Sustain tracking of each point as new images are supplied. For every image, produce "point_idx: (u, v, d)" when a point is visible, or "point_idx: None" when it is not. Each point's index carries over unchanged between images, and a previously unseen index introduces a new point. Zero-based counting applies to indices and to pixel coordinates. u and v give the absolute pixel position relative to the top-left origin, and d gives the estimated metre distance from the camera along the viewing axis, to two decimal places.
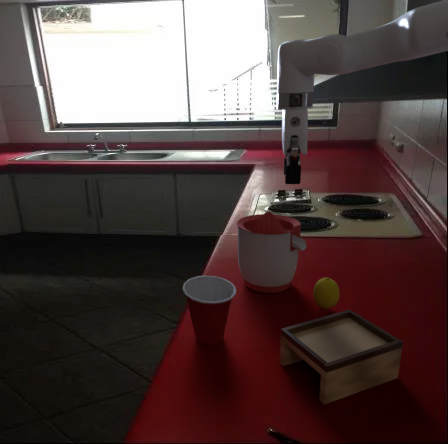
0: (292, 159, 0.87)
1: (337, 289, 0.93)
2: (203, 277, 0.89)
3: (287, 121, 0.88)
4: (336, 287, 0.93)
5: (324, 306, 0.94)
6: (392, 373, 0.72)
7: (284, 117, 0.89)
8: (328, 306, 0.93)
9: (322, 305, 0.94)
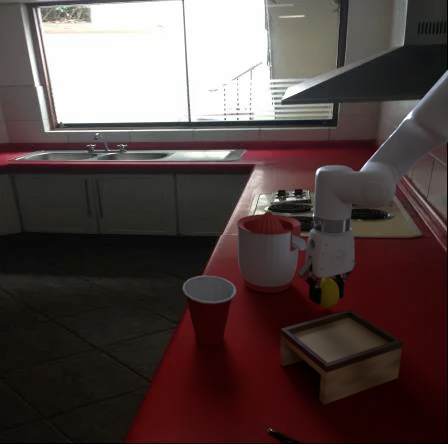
0: (304, 279, 0.92)
1: (337, 289, 0.93)
2: (203, 277, 0.89)
3: (308, 241, 0.91)
4: (336, 287, 0.93)
5: (324, 306, 0.94)
6: (392, 373, 0.72)
7: None
8: (328, 306, 0.93)
9: (322, 305, 0.94)
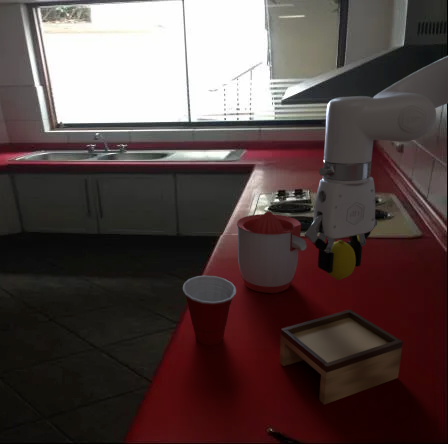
0: (313, 242, 0.74)
1: (353, 254, 0.75)
2: (203, 277, 0.89)
3: (317, 193, 0.73)
4: (352, 252, 0.75)
5: (337, 275, 0.76)
6: (392, 373, 0.72)
7: None
8: (342, 275, 0.76)
9: (334, 274, 0.76)
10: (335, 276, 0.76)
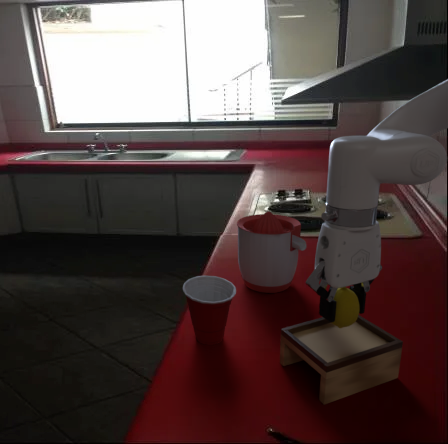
0: (314, 290, 0.69)
1: (357, 302, 0.70)
2: (203, 277, 0.89)
3: (319, 238, 0.68)
4: (355, 300, 0.70)
5: (339, 324, 0.71)
6: (392, 373, 0.72)
7: None
8: (345, 325, 0.71)
9: (337, 323, 0.71)
10: (337, 325, 0.71)
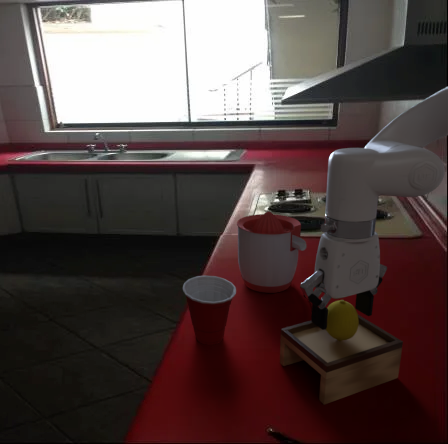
0: (305, 297, 0.69)
1: (356, 316, 0.71)
2: (203, 277, 0.89)
3: (318, 249, 0.69)
4: (355, 313, 0.71)
5: (339, 338, 0.72)
6: (392, 373, 0.72)
7: None
8: (344, 338, 0.71)
9: (336, 336, 0.72)
10: (337, 338, 0.72)
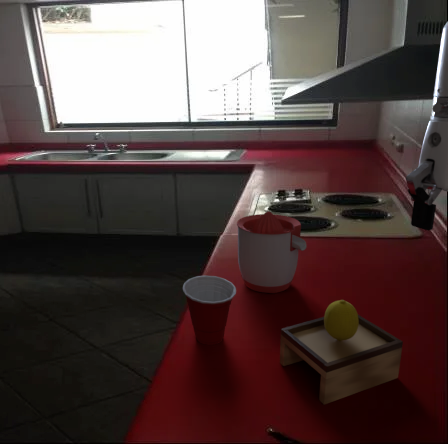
0: (410, 192, 0.61)
1: (356, 316, 0.71)
2: (203, 277, 0.89)
3: (426, 137, 0.61)
4: (355, 313, 0.71)
5: (339, 338, 0.72)
6: (392, 373, 0.72)
7: None
8: (344, 338, 0.71)
9: (336, 336, 0.72)
10: (337, 338, 0.72)
